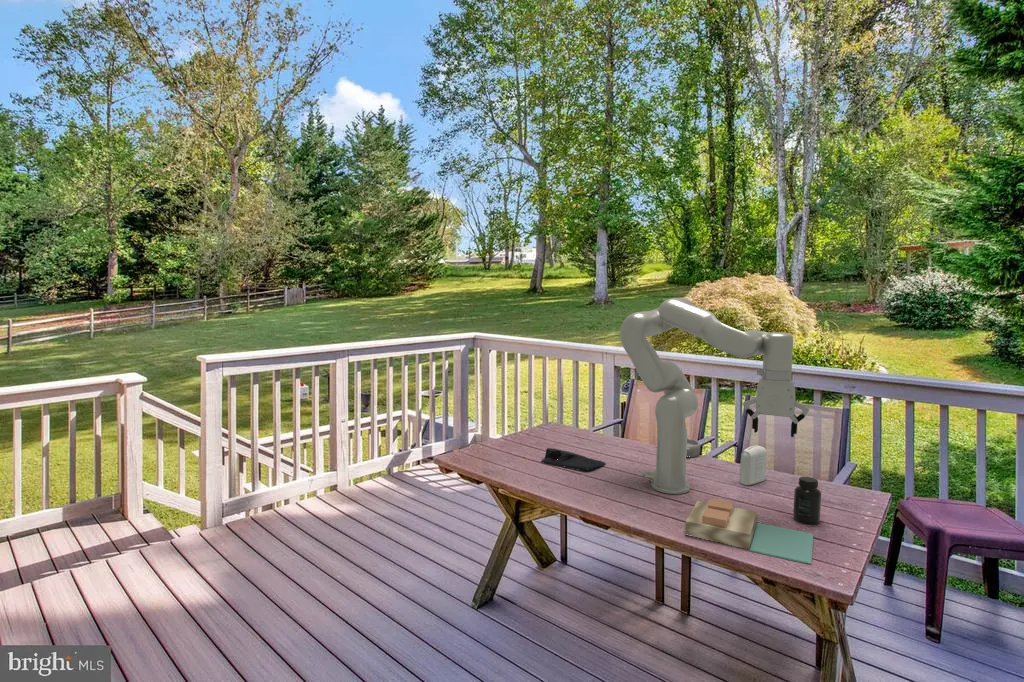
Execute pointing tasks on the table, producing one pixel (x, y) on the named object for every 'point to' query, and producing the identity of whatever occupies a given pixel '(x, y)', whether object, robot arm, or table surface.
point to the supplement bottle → (807, 501)
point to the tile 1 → (721, 505)
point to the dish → (693, 447)
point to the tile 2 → (715, 517)
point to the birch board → (734, 533)
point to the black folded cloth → (570, 460)
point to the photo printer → (753, 465)
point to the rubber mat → (783, 543)
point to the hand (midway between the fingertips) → (773, 433)
